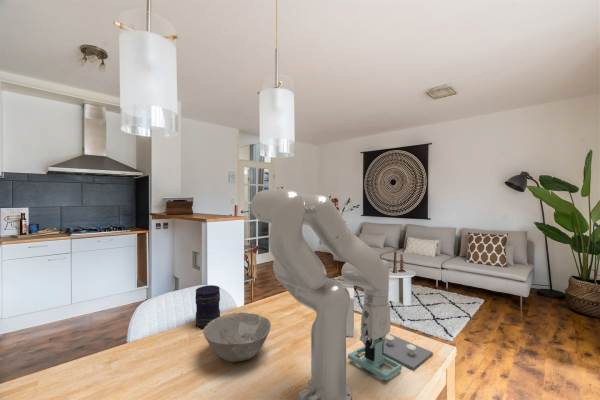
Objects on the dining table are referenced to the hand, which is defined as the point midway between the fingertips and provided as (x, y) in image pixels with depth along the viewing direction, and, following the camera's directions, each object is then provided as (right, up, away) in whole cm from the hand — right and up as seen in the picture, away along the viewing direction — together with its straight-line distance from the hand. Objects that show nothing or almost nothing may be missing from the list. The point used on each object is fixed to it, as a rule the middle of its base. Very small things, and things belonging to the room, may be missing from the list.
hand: (374, 355), depth 88 cm
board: (+12, -3, +8) cm, 15 cm away
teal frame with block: (0, -2, 0) cm, 2 cm away
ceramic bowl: (-45, -4, +7) cm, 45 cm away
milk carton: (-6, -3, +23) cm, 24 cm away
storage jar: (-63, -3, +30) cm, 69 cm away
